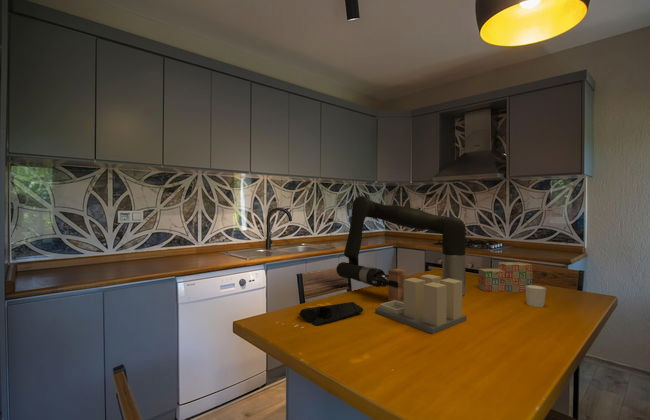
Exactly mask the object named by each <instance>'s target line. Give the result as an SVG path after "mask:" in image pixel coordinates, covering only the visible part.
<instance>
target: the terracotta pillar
mask: <svg viewBox="0 0 650 420" xmlns="http://www.w3.org/2000/svg"><path fill="white" fill-rule="evenodd" d="M387 273H388V280H390V281H396V282H398V283H399V287H398V288H395V287H391V286H389V287H388V286H387V287H388V289H387V291H388V297H387V299H388V301H394V300H396V301H399V302H401V301H404V280H405V279H407V270H405V269H400V268H393V269H388V272H387Z"/></svg>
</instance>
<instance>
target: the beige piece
mask: <svg viewBox="0 0 650 420" xmlns="http://www.w3.org/2000/svg"><path fill="white" fill-rule="evenodd" d="M525 288H526V292H525V296H526V305H528V306H530V307H536V308H544V307H545V301H546V294H547V293H546V292H547V287H545V286H542V285H541V286H540V285H535V284H532V285H526V286H525Z"/></svg>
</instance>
